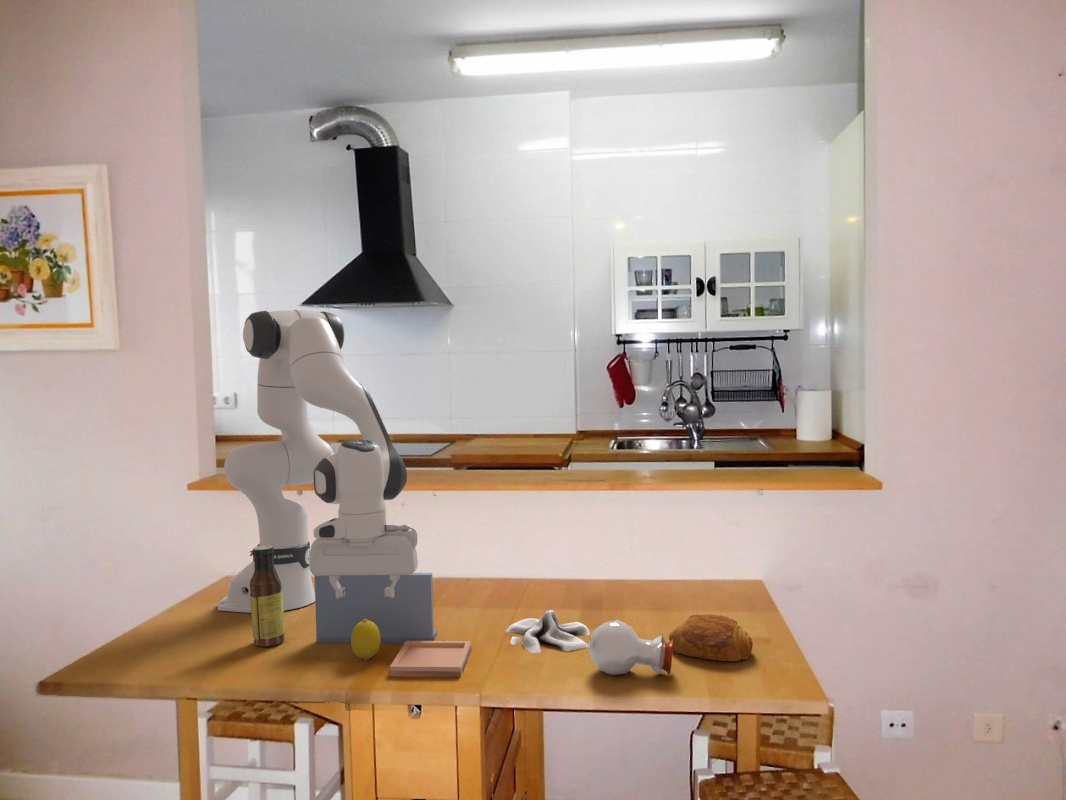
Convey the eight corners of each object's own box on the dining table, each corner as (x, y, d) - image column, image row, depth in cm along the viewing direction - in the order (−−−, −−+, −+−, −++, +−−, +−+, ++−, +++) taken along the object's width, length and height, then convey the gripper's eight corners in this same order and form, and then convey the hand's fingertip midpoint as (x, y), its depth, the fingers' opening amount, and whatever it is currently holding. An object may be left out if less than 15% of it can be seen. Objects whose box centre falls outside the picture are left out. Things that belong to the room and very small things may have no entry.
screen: (316, 642, 156) (314, 575, 156) (324, 634, 161) (322, 568, 161) (432, 643, 155) (430, 574, 154) (437, 634, 160) (435, 568, 159)
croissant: (741, 682, 139) (746, 640, 137) (660, 655, 146) (664, 616, 145) (760, 653, 151) (765, 615, 150) (684, 630, 159) (689, 593, 158)
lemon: (374, 666, 143) (372, 624, 143) (346, 665, 144) (345, 623, 144) (385, 655, 149) (384, 615, 148) (359, 654, 150) (357, 613, 149)
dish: (390, 676, 138) (389, 666, 138) (406, 649, 151) (406, 640, 151) (461, 676, 138) (460, 667, 138) (471, 650, 151) (471, 641, 151)
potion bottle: (585, 675, 141) (667, 689, 138) (583, 662, 133) (670, 676, 130) (592, 625, 146) (672, 638, 143) (591, 609, 137) (675, 623, 135)
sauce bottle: (291, 639, 159) (288, 544, 158) (272, 649, 153) (268, 551, 152) (265, 636, 161) (262, 542, 160) (245, 646, 155) (241, 549, 154)
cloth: (508, 622, 168) (508, 594, 168) (593, 624, 166) (592, 596, 166) (492, 661, 146) (491, 629, 146) (589, 663, 144) (589, 631, 144)
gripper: (420, 521, 148) (422, 592, 148) (316, 523, 149) (319, 593, 149) (413, 528, 141) (415, 602, 142) (305, 529, 143) (307, 603, 143)
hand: (365, 597), depth 146 cm, fingers open, 8 cm apart
